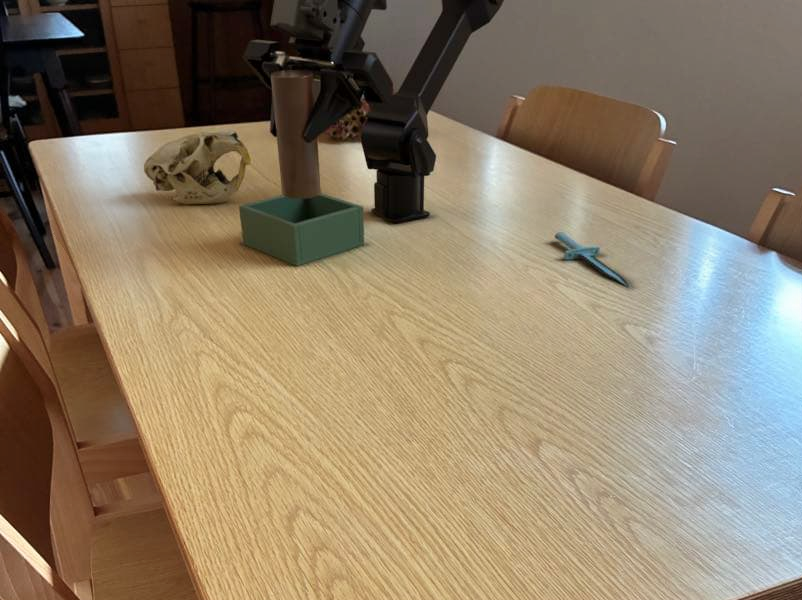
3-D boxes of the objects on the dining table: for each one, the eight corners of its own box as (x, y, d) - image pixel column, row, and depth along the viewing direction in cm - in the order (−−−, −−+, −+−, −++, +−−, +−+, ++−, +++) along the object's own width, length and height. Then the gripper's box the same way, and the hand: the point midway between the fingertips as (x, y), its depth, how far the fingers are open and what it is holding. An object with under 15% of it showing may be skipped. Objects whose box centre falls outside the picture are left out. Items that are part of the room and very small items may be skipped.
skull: (248, 200, 118) (222, 126, 112) (156, 225, 123) (127, 155, 117) (271, 185, 125) (247, 115, 120) (183, 209, 130) (157, 143, 125)
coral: (423, 88, 159) (414, 75, 145) (406, 160, 164) (396, 153, 150) (334, 63, 159) (317, 47, 146) (320, 136, 164) (302, 127, 151)
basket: (309, 225, 115) (307, 188, 112) (364, 244, 109) (363, 206, 106) (243, 244, 109) (238, 205, 106) (296, 266, 102) (293, 226, 99)
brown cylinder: (324, 188, 101) (317, 70, 93) (316, 199, 98) (307, 78, 90) (287, 186, 102) (276, 69, 94) (277, 198, 98) (265, 77, 90)
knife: (647, 279, 98) (612, 285, 96) (645, 289, 98) (610, 294, 97) (574, 229, 109) (542, 233, 108) (573, 237, 110) (541, 242, 109)
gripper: (243, -43, 92) (189, 82, 92) (376, -37, 84) (316, 101, 84) (294, 29, 102) (245, 143, 102) (417, 42, 94) (364, 165, 94)
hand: (289, 137), depth 95 cm, fingers closed on brown cylinder, 5 cm apart
